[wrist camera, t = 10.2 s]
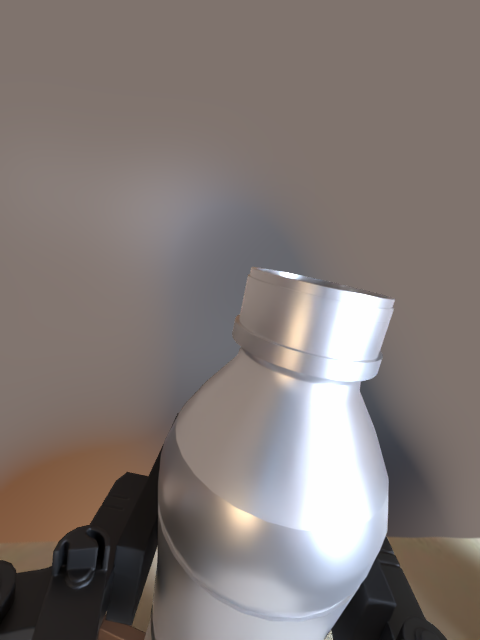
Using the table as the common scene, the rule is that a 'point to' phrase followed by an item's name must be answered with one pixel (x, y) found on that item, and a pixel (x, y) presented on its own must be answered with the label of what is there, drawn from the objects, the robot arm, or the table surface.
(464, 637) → the table surface
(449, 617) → the table surface
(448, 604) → the table surface
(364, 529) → the silver metal bottle
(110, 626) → the walnut box
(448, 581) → the table surface
